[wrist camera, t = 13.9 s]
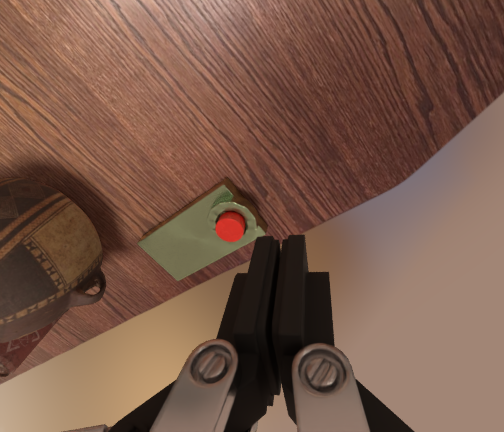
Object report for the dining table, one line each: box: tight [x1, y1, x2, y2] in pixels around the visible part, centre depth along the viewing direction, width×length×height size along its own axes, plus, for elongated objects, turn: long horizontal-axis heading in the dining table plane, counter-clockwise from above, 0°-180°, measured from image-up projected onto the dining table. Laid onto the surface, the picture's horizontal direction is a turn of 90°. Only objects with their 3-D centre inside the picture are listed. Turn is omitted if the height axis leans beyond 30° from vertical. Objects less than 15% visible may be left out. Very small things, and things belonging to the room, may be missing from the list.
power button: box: [215, 211, 246, 242], centre depth 37 cm, size 4×4×2 cm
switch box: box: [137, 177, 268, 281], centre depth 42 cm, size 19×9×4 cm, turn 128°
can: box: [0, 315, 62, 377], centre depth 54 cm, size 6×6×14 cm
